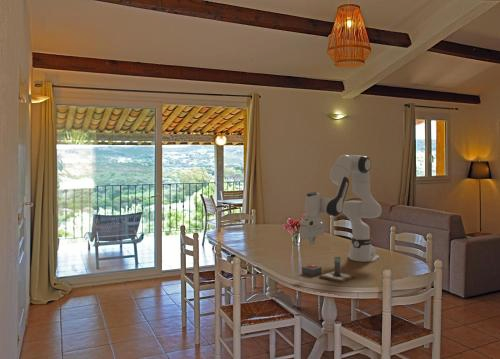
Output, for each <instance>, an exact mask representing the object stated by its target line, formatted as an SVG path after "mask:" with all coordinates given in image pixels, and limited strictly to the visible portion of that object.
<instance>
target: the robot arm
mask: <svg viewBox="0 0 500 359" xmlns="http://www.w3.org/2000/svg"><path fill="white" fill-rule="evenodd" d="M371 167H372V161H371V158H370V157H369V156H366V155H359V154H358V155H357V154H341V155H340V156H338V158H337V159H336V160H335V162H334V163H333V165H332V167H331V168H330V171H329V175H328V176H329V179H330V181H331V183H333V184H334V185H336V186H337V191H336V193H335V195H334V197H332V198H330V197H324V196H322V195H320V192H317V191H313V192H307V194H306V195H305V200H304V210H305V213H304V217H303V218H302V219H301V220H299V223H298V224H299V225H300V226H299V235H298V236H299V238H300V239H302V240H307V239H308V242H309V245H311V246H312V245H315V243H316V239H317V237H320V236H323V235H325V234H324V233H325V225H324V223H323V222H324V220H323V219H322V218H321V214H322V215H328V216H332V217H338V216H339V215H340V214H341V213H343V215H344V216H345V217H346V218H347V219H348V220H349V221H350V224H351V229H352V230H351V231H352V236H351V240H350V241H351V244H350V245H349V253H348V255H347V258H349V260H351V261H354V262H362V263H364V262H365V263H367V262H368V263H369V262H370V263H371V262H372V263H373V262H375V261H377V260H378V259H380V256H379V255H378V254H376V252H377V250H376V247H374V246H373V245H372V242H373V237H371V238H370V232H371V230H370V229H371V228H370V226H369V225H368V223H366V222H364V221H363V220H362V219H363V218H364V219H376V218H379V217H380V216H381V215H382V211H383V210H382V206H381V204H380V203H379V202H378V201H377V200H375V198H374V196H373V194H372V192H371V180H370V179H371V177H370V170H371ZM350 173H352V179H351V180H352V181H351V182H352V184H351V185H352V193H353V194H354V195H355V196H357V197H359V198H360V200H354V199H353V200H352V199H351V200H346V201H345V198H346V196H347V194H348V189H349V186H350V180H349V175H350Z"/></svg>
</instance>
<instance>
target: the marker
mask: <svg viewBox="0 0 500 359" xmlns="http://www.w3.org/2000/svg"><path fill="white" fill-rule="evenodd" d="M333 259H334V262H333V264H334V265H333V266H334V270H333V271H334V275H335V276H340V273H341V262H342V261H341V259H342V258H341V257H340V256H334V258H333Z"/></svg>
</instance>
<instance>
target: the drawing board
mask: <svg viewBox="0 0 500 359" xmlns="http://www.w3.org/2000/svg"><path fill="white" fill-rule="evenodd" d="M318 276H319V279H323V280H327V281H331V282H336V283H339V284H342V283H345V282H347V281H350V280H352V279H355V275H353V274H349V273H343V272H340V276H335V275H334V270H332V271H328V272H327V273H323V274H319V275H318Z"/></svg>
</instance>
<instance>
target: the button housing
mask: <svg viewBox="0 0 500 359" xmlns="http://www.w3.org/2000/svg"><path fill="white" fill-rule="evenodd" d="M308 265H309V264H308ZM308 265H305V266H304V265H303V266H301V274H302V275H306V276H310V277H317V276H320V275H322V266H319V265H315V268H308Z"/></svg>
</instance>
